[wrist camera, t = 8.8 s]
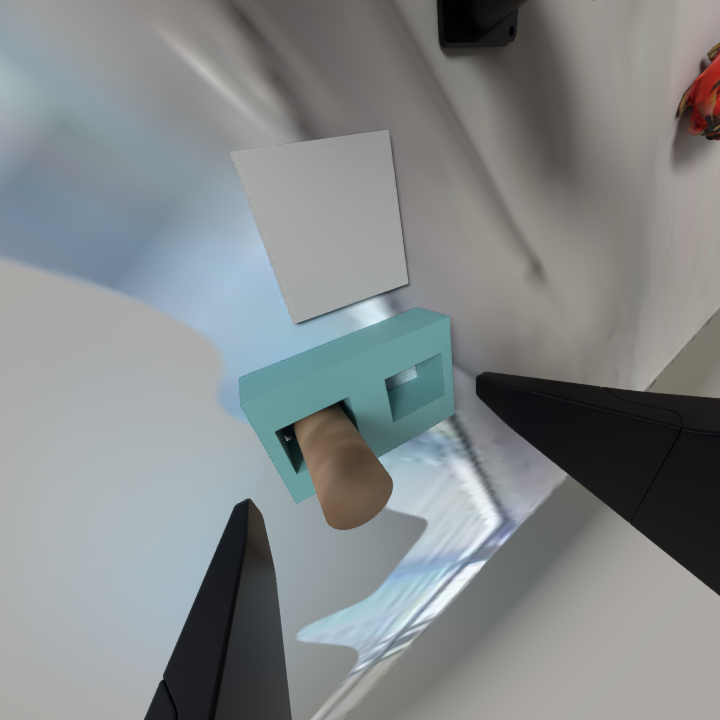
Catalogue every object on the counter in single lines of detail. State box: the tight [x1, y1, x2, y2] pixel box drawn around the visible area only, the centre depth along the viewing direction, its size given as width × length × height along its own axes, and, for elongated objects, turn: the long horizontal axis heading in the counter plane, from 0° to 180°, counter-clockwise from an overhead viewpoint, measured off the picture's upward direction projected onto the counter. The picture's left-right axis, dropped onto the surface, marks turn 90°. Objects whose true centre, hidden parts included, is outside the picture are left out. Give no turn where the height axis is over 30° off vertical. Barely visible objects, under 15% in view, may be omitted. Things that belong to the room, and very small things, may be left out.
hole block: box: [239, 307, 455, 504], centre depth 21 cm, size 16×10×4 cm, turn 105°
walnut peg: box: [292, 402, 393, 530], centre depth 18 cm, size 4×4×10 cm
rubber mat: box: [231, 130, 408, 324], centre depth 18 cm, size 10×10×1 cm
